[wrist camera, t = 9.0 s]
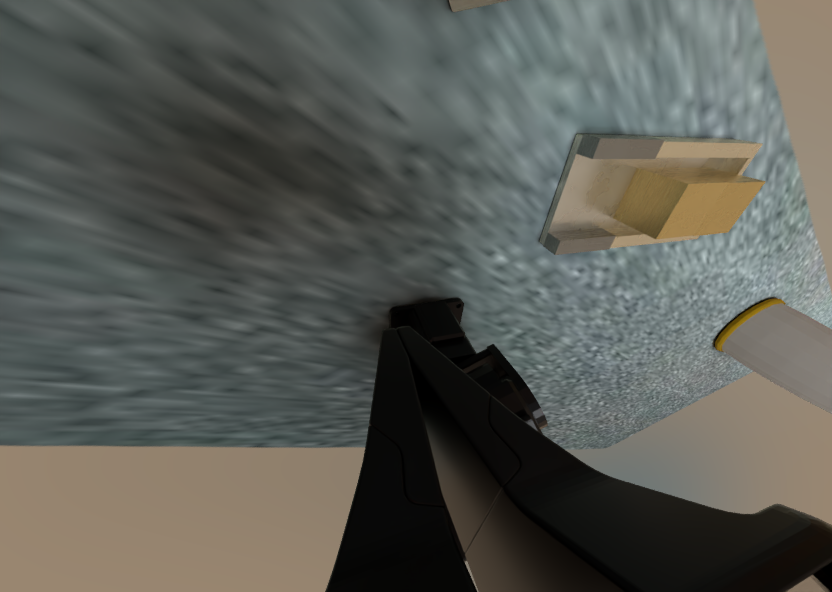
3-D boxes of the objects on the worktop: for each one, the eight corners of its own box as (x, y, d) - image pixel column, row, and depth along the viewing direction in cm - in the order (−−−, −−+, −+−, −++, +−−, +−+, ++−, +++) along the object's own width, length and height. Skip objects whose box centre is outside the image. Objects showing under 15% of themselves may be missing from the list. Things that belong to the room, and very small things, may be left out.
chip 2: (680, 213, 27) (727, 232, 24) (648, 216, 26) (693, 235, 23) (708, 167, 25) (765, 181, 22) (674, 167, 24) (729, 183, 21)
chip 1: (648, 215, 26) (693, 235, 23) (612, 218, 25) (655, 239, 22) (674, 167, 24) (729, 182, 21) (636, 167, 23) (688, 184, 20)
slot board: (538, 242, 25) (554, 254, 23) (576, 132, 20) (600, 138, 18) (675, 230, 29) (696, 239, 28) (733, 137, 24) (763, 142, 23)
